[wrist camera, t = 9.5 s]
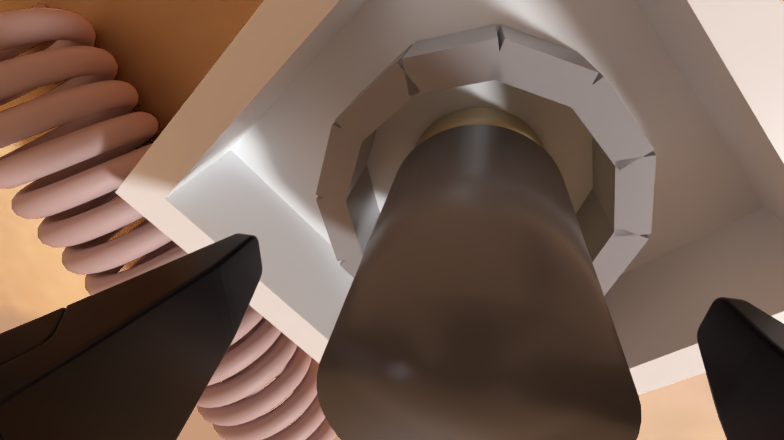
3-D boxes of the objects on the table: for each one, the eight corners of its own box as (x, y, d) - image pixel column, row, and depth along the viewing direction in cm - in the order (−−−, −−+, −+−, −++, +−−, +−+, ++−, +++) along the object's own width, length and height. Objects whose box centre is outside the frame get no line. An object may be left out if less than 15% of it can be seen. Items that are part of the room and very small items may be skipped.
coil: (-171, 66, 11) (235, 485, 18) (-99, -22, 9) (326, 491, 16) (13, 32, 14) (287, 390, 22) (93, -35, 12) (366, 385, 20)
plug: (493, 64, 11) (504, 230, 4) (586, 185, 12) (707, 460, 6) (373, 163, 13) (258, 378, 7) (463, 258, 14) (445, 522, 8)
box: (538, -259, 9) (572, -401, 5) (808, 201, 12) (934, 294, 9) (200, 139, 15) (115, 192, 11) (446, 369, 18) (438, 463, 15)
